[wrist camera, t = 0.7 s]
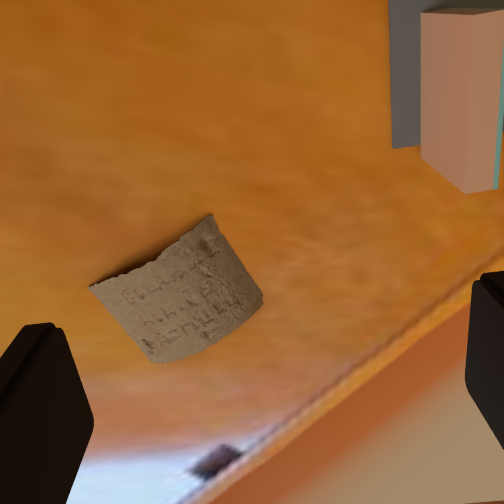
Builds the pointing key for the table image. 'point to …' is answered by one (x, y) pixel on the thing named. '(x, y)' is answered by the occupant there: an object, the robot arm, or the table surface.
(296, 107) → the table surface
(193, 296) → the clay tablet
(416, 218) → the table surface
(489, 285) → the robot arm
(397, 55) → the mat
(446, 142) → the tile
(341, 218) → the table surface
